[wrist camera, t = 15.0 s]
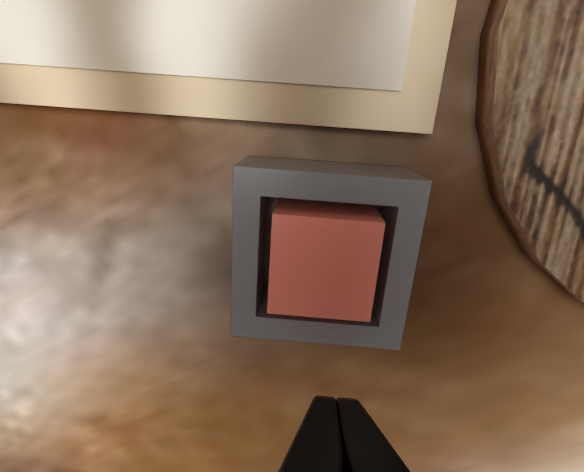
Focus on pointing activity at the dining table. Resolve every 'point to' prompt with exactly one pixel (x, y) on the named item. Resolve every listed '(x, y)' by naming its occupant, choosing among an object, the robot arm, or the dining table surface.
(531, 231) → the trivet
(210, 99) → the board
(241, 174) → the button housing
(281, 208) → the button
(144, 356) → the dining table surface
